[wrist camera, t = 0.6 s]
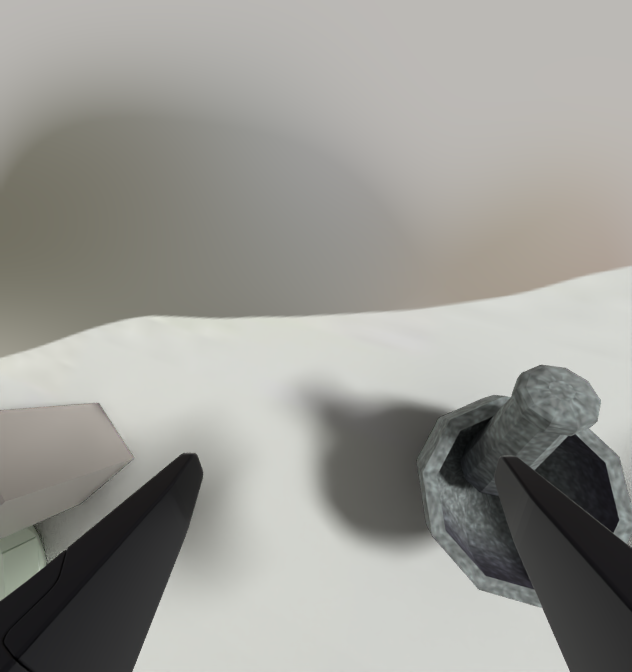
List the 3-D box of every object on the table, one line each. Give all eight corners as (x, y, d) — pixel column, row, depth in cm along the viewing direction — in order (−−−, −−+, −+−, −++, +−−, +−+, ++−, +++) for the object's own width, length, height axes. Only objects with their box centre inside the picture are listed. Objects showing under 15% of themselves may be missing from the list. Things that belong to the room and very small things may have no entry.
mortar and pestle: (559, 534, 21) (822, 726, 9) (415, 542, 22) (488, 726, 10) (523, 366, 23) (705, 347, 11) (392, 380, 24) (431, 376, 12)
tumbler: (134, 458, 25) (5, 501, 16) (80, 503, 25) (-81, 574, 16) (98, 402, 26) (-42, 413, 17) (46, 446, 26) (-124, 481, 17)
